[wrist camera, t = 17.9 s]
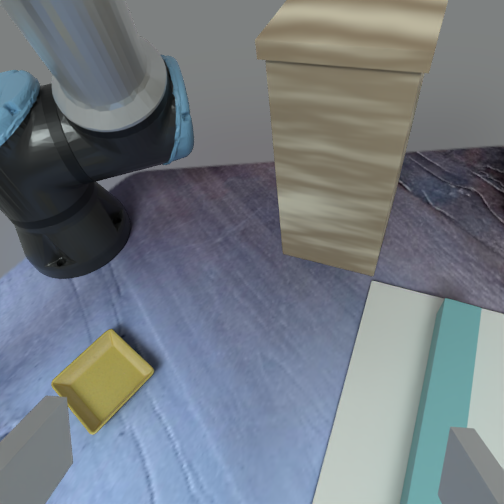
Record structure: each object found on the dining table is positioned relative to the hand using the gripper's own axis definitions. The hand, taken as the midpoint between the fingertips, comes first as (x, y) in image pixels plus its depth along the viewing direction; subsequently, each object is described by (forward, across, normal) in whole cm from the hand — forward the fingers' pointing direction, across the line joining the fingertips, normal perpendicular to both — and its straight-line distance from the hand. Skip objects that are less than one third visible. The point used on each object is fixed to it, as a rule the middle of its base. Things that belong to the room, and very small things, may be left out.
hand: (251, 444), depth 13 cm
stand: (+43, +9, 0) cm, 44 cm away
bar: (+22, +16, -15) cm, 31 cm away
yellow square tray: (+27, -18, -16) cm, 36 cm away
